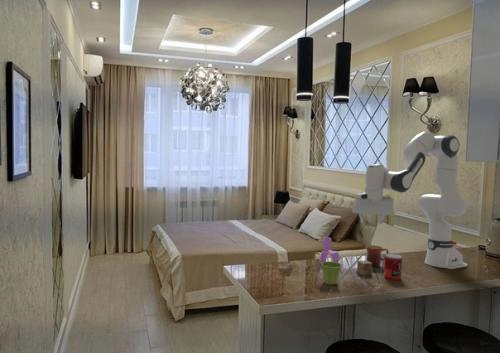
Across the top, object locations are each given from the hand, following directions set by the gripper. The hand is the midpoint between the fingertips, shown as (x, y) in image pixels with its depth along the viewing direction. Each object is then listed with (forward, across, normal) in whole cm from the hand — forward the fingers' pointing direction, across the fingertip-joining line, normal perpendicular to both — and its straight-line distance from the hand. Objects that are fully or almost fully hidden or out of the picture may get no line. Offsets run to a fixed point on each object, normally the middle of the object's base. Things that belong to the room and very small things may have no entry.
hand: (371, 223), depth 197 cm
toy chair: (+26, +17, -13) cm, 33 cm away
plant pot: (+27, +24, +16) cm, 39 cm away
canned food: (+25, -9, +8) cm, 28 cm away
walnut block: (+26, +3, +2) cm, 26 cm away
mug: (+25, -9, -12) cm, 29 cm away
